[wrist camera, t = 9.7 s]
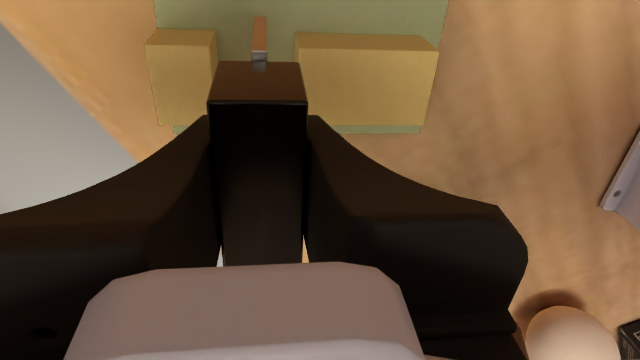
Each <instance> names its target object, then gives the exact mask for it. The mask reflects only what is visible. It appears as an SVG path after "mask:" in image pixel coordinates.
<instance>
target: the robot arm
mask: <svg viewBox="0 0 640 360" xmlns="http://www.w3.org/2000/svg"><path fill="white" fill-rule="evenodd" d="M600 207H601V208H602V209H603V210H604V211H616V212H617V213H618V214H619V215H620V216H622V217H623V218H624V219H625V220H626V221H627V222H628V223H630V224H631V225H632V226H633V227H634V228H635V229H636V230H638V231H639V232H640V131H639V133H638V135H637V137H636V139H635V140H634V142H633V144H632V146H631V148H630V150H629V151H628V153H627V155H626V157H625V159H624V161H623V162H622V164H621V166H620V168H619V170H618V172H617V173H616V175H615V177H614V179H613V181H612V183H611V184H610V186H609V188H608V190H607V192H606V194H605V195H604V197H603V199H602V201H601V203H600ZM303 235H304V240H305V245H306V249H307V254H308V259H309V263H294V264H271V265H248V266H225V267H217V261H218V256H219V252H220V247H221V239H220V229H219V220H218V211H217V201H216V192H215V183H214V173H213V164H212V155H211V145H210V136H209V127H208V117H207V115H202V116H201V117H199V118H198V119H197V120H196V121H195V122H194V123H192V124H191V125H190V126H189V127H188V128H187V129H185V130H184V131H183V132H182V133H181V134H179V135H178V136H177V137H176V138H175V139H173V140H172V141H171V142H169V143H168V144H167V145H165V146H164V147H162V148H161V149H160V150H158V151H157V152H155V153H154V154H153V155H151V156H150V157H148V158H147V159H145V160H143V161H142V162H140V163H138V164H137V165H135V166H133V167H131V168H129V169H128V170H126V171H124V172H122V173H120V174H118V175H116V176H114V177H112V178H109V179H107V180H105V181H102V182H100V183H98V184H96V185H93V186H91V187H89V188H86V189H84V190H81V191H79V192H76V193H73V194H70V195H67V196H65V197H62V198H58V199H55V200H52V201H49V202H46V203H42V204H39V205H36V206H32V207H28V208H24V209H20V210H16V211H13V212H8V213H4V214H0V360H527V359H526V357H525V356H524V354H523V352H522V350H521V349H520V347H519V345H518V344H517V342H516V340H515V338H514V337H513V335H512V333H515V331H516V329H517V326H516V322H515V321H514V319H513V317H512V316H511V314H510V312H509V311H508V307H509V305H510V303H511V301H512V299H513V297H514V294H515V292H516V290H517V288H518V286H519V284H520V282H521V280H522V277H523V275H524V273H525V269H526V266H527V263H528V251H527V246H526V244H525V242H524V240H523V238H522V236H521V235H520V234H519V232H518V231H517V230H516V228H515V227H514V226H513V225H512V223H511V222H510V221H509V219H508V218H507V217H506V216H505V214H504V213H503V212H502V210H501V209H500V208H499V207H498V206H497V205H493V204H489V203H485V202H480V201H476V200H472V199H467V198H463V197H459V196H455V195H452V194H449V193H446V192H442V191H439V190H436V189H433V188H430V187H428V186H425V185H422V184H419V183H417V182H415V181H412V180H410V179H408V178H406V177H403V176H401V175H399V174H397V173H395V172H393V171H391V170H389V169H387V168H386V167H384V166H382V165H380V164H379V163H377V162H375V161H373V160H372V159H370V158H369V157H367V156H366V155H364V154H363V153H362V152H360V151H359V150H358V149H356V148H355V147H354V146H352V145H351V144H350V143H348V142H347V141H346V140H345V139H344V138H343V137H341V136H340V135H339V134H338V133H337V132H336V131H335V130H334V129H332V128H331V127H330V126H329V125H328V124H327V123H326V122H325V121H324V120H323V119H322V118H321V117H320V116H318V115H308V132H307V156H306V180H305V204H304V228H303ZM635 360H640V359H635Z"/></svg>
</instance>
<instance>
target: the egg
mask: <svg viewBox="0 0 640 360" xmlns="http://www.w3.org/2000/svg"><path fill="white" fill-rule="evenodd" d="M525 346H526V350H527V353H528V357H529V360H621V357H620V352H619V349H618V346H617V344H616V341H615V339H614V338H613V336H612V335H611V333H610V332H609V330H608V329H607V328H606V327H605V326H604V325H603V324H602V323H601V322H600V321H598V320H597V319H596V318H595V317H593V316H592V315H590V314H588V313H586V312H584V311H581V310H579V309H576V308H572V307H567V306H553V307H549V308H547V309H544V310H542V311H540V312H539V313H537V314H536V315H535V316H534V317H533V318H532V320H531V321H530V323H529V325H528V328H527V333H526V337H525Z"/></svg>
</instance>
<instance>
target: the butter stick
mask: <svg viewBox="0 0 640 360" xmlns="http://www.w3.org/2000/svg"><path fill="white" fill-rule="evenodd" d="M439 53H440V51H439V50H438V49H436V48H435V47H434V46H433V45H432V44H430V43H429V42H428V41H427V40H426V39H425V38H423V37H422V36H419V35H384V34H349V33H314V32H295V42H294V62H298V63H300V66H301V71H302V76H303V80H304V85H305V89H306V94H307V98H308V103H309V107H308V115H318V116H320V117H321V118H322V119H323V120H324V121H325V122H326V123H327V124H328V125H424V122H425V117H426V113H427V108H428V103H429V99H430V94H431V90H432V85H433V81H434V76H435V71H436V67H437V62H438V58H439Z"/></svg>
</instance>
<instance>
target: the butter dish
mask: <svg viewBox="0 0 640 360" xmlns="http://www.w3.org/2000/svg"><path fill="white" fill-rule="evenodd" d="M448 1H449V0H153V4H154V11H155V17H156V23H157V29H158V28H168V29H205V30H215V31H216V42H217V54H218V61H251V42H252V31H253V20H254V17H266V18H267V61H268V62H294V42H295V32H314V33H349V34H384V35H419V36H422V37H423V38H425V39H426V40H427V41H428V42H429V43H430V44H432V45H433V46H434V47H435V48H436V49H438V47H439V43H440V38H441V34H442V29H443V24H444V20H445V15H446V10H447V6H448ZM189 126H190V125H188V126H173V132H174V134H181V133H182V132H183V131H184V130H185V129H187V128H188V127H189ZM329 126H330V127H331V128H332V129H334V130H335V131H336V132H337V133H338V134H419V133H420V131H421V126H422V125H329Z"/></svg>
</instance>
